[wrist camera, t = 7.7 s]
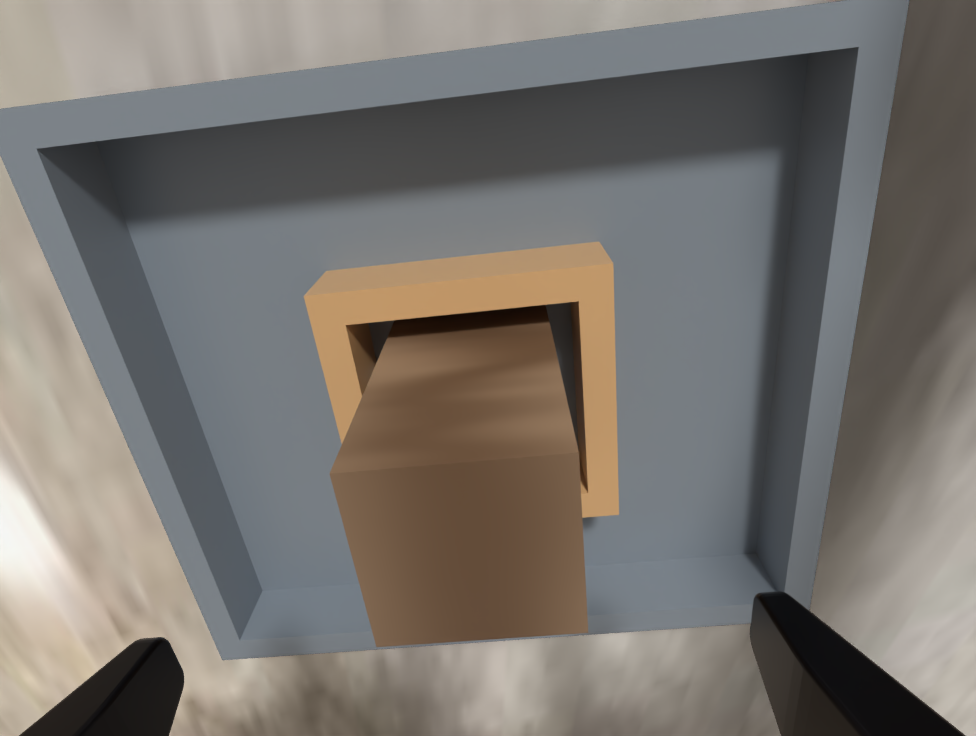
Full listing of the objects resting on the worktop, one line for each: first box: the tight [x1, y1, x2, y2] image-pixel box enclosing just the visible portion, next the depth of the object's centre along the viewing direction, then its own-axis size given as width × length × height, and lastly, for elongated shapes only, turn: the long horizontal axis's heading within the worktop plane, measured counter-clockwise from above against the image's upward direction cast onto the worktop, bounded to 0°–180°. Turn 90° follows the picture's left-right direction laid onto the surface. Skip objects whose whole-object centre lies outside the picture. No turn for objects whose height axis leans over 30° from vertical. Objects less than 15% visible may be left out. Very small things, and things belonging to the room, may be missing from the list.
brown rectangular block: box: [330, 305, 588, 647], centre depth 13 cm, size 4×4×7 cm
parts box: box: [0, 0, 909, 660], centre depth 16 cm, size 18×16×3 cm
